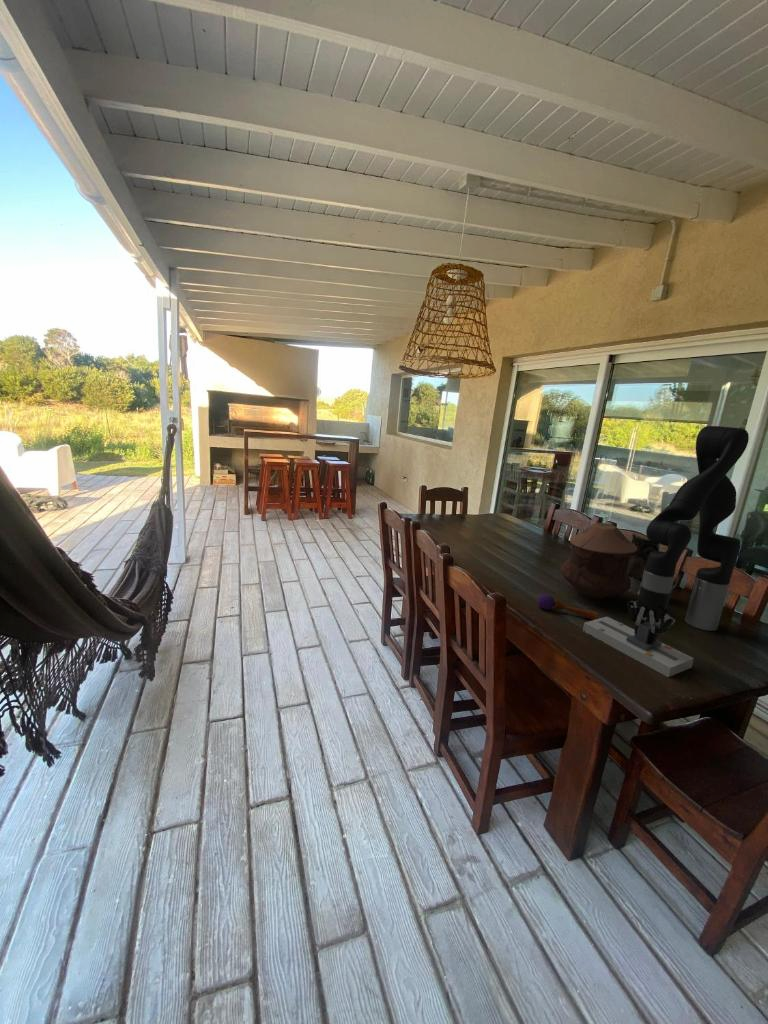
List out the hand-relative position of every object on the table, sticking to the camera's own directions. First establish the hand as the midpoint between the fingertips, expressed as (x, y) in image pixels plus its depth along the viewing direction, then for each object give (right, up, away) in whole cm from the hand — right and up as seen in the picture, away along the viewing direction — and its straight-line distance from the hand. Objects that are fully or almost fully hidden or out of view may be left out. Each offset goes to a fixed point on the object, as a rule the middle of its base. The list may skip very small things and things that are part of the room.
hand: (644, 639), depth 124 cm
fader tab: (0, -1, 0) cm, 1 cm away
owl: (+41, +8, +65) cm, 77 cm away
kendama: (-13, +1, +24) cm, 28 cm away
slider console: (-1, -4, +3) cm, 5 cm away
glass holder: (+32, +3, +42) cm, 53 cm away
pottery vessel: (+5, +5, +42) cm, 42 cm away
